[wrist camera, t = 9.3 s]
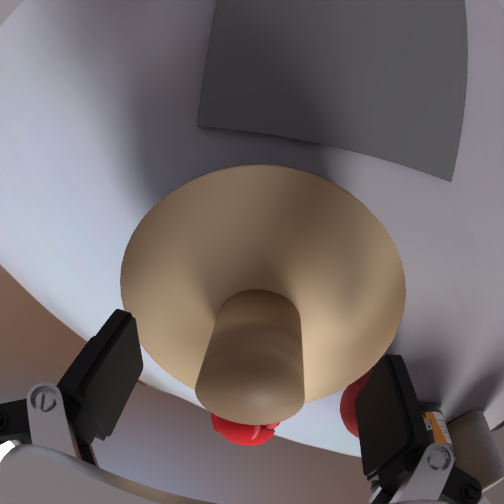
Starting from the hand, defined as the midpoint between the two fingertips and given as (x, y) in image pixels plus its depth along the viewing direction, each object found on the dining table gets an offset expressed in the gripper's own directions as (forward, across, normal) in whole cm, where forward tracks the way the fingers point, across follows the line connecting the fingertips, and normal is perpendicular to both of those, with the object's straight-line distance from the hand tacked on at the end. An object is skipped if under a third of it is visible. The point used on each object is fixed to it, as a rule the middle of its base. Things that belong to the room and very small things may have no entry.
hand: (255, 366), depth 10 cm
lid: (+3, 0, 0) cm, 3 cm away
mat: (+10, -3, -15) cm, 18 cm away
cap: (+10, -1, +15) cm, 18 cm away
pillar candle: (+10, -35, +24) cm, 43 cm away
